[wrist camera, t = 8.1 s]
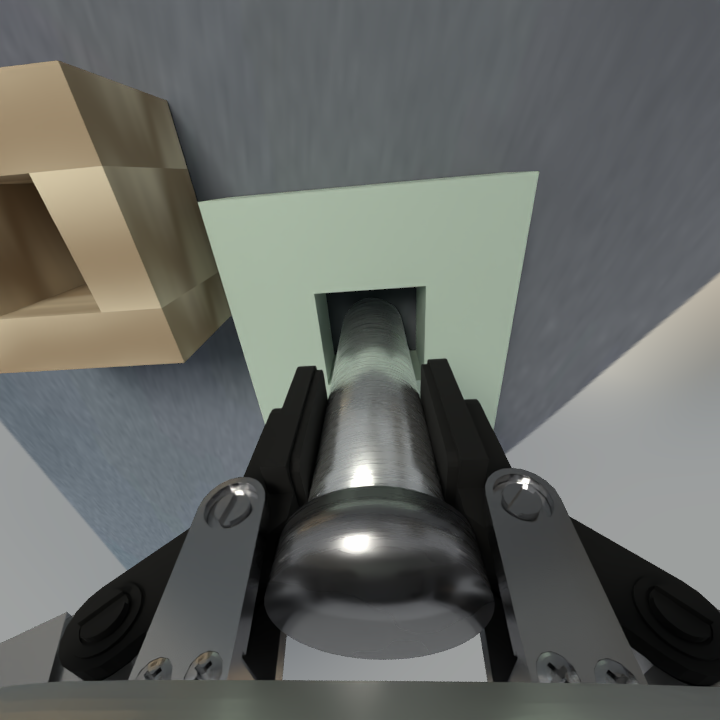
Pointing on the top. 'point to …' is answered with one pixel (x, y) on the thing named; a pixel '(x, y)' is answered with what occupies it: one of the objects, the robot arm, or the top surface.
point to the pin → (377, 517)
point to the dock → (376, 272)
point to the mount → (97, 227)
